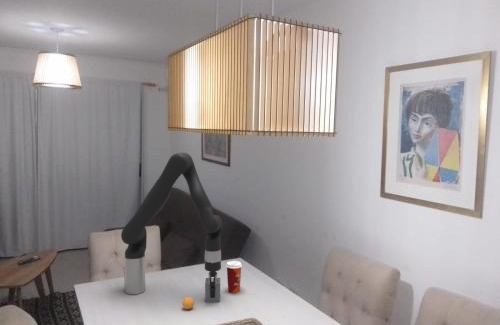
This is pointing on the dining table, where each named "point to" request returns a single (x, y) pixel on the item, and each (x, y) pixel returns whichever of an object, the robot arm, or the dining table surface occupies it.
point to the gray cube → (207, 291)
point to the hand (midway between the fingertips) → (212, 294)
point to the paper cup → (234, 276)
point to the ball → (188, 303)
